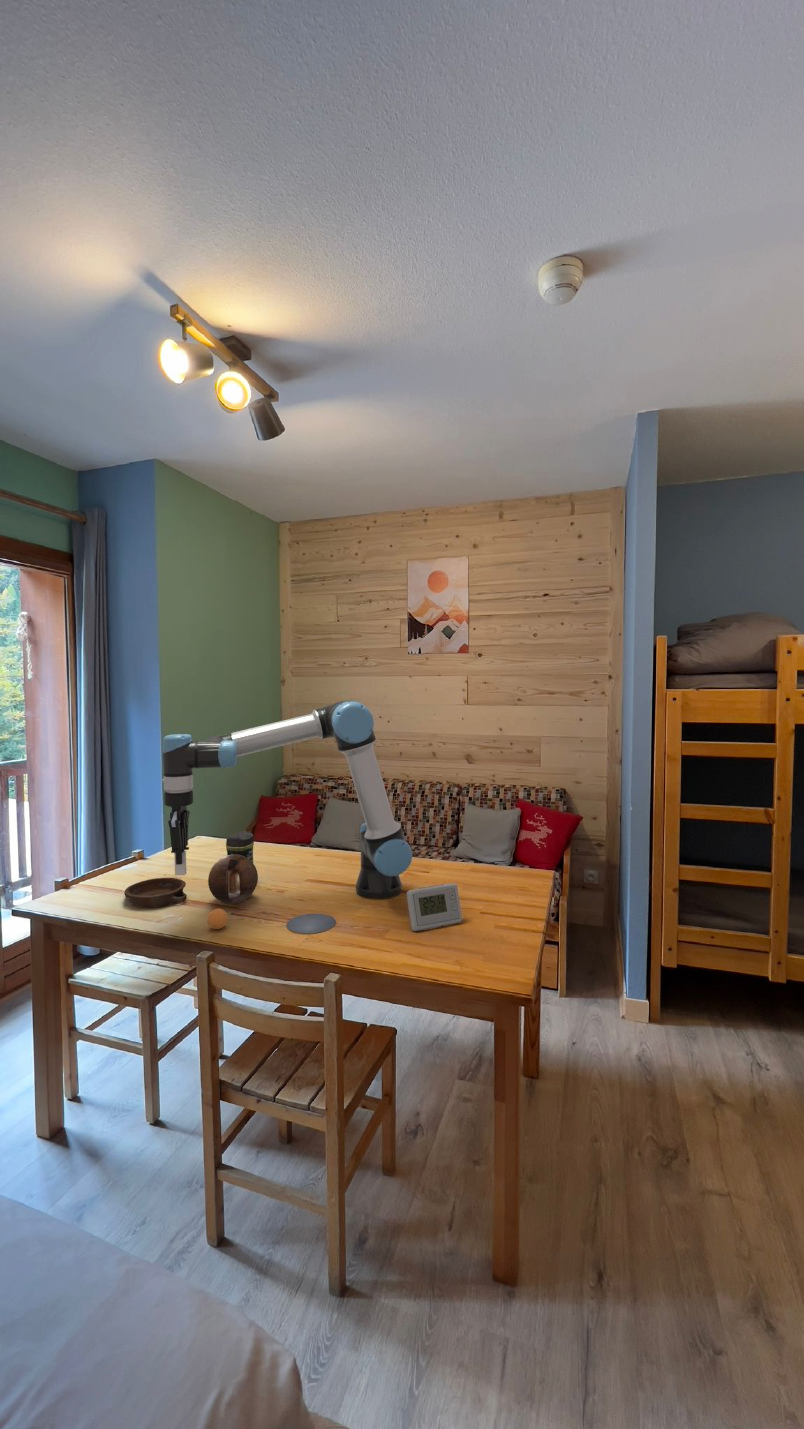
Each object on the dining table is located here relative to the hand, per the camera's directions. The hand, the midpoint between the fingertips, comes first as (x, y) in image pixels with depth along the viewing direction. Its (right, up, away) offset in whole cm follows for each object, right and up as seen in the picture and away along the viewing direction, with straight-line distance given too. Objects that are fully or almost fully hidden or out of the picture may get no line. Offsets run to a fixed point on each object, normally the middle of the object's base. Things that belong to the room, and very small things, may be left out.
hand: (180, 874), depth 165 cm
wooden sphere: (+9, -15, +22) cm, 28 cm away
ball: (+10, -13, +2) cm, 16 cm away
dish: (-17, -15, +24) cm, 33 cm away
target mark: (+36, -15, +5) cm, 39 cm away
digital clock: (+71, -15, +3) cm, 73 cm away
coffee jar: (+7, -14, +36) cm, 39 cm away
